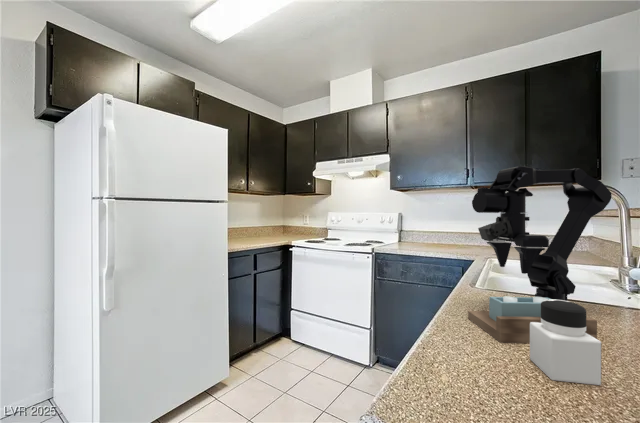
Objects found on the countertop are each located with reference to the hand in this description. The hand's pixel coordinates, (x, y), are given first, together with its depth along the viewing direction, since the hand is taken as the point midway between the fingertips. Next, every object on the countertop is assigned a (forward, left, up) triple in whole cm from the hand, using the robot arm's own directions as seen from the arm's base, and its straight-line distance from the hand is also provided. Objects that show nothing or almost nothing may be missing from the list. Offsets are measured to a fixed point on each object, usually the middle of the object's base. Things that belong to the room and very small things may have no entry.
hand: (512, 270), depth 79 cm
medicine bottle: (+10, +29, -12) cm, 33 cm away
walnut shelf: (+4, +11, -12) cm, 17 cm away
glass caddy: (+4, +11, -10) cm, 15 cm away
